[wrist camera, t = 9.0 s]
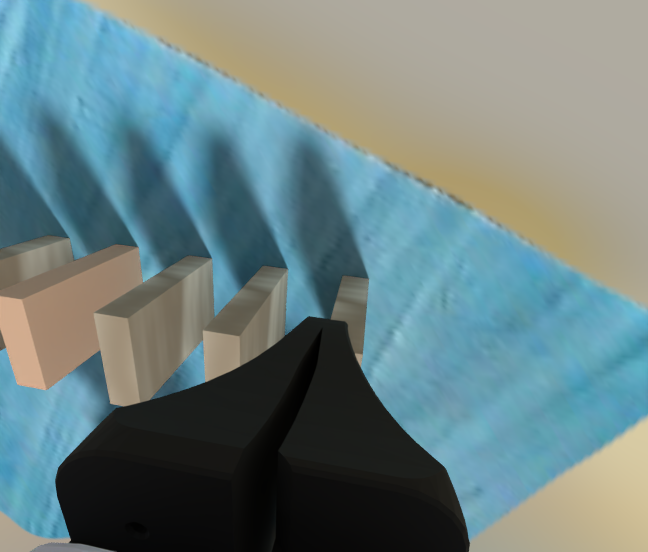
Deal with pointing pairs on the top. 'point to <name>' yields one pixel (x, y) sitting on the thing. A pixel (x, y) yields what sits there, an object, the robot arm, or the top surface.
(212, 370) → the domino
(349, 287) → the domino
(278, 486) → the robot arm
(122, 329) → the domino
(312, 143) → the top surface
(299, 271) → the top surface
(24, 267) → the domino
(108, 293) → the domino
